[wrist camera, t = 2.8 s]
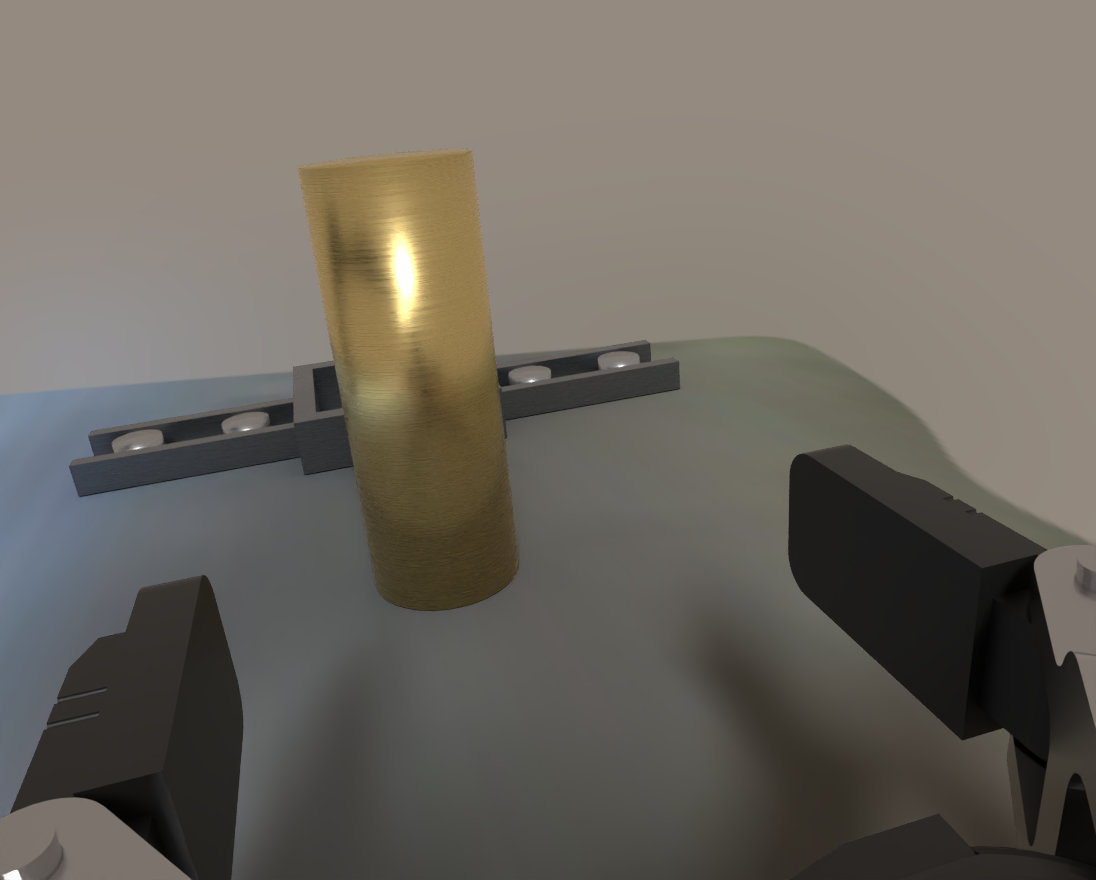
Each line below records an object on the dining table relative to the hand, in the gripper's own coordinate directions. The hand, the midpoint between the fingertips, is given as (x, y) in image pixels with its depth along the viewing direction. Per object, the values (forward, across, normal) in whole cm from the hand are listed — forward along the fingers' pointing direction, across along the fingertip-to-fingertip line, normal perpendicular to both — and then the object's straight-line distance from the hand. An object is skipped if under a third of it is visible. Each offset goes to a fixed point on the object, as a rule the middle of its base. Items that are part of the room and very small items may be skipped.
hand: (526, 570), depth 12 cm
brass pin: (+11, 0, +6) cm, 13 cm away
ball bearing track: (+24, 0, +6) cm, 25 cm away
